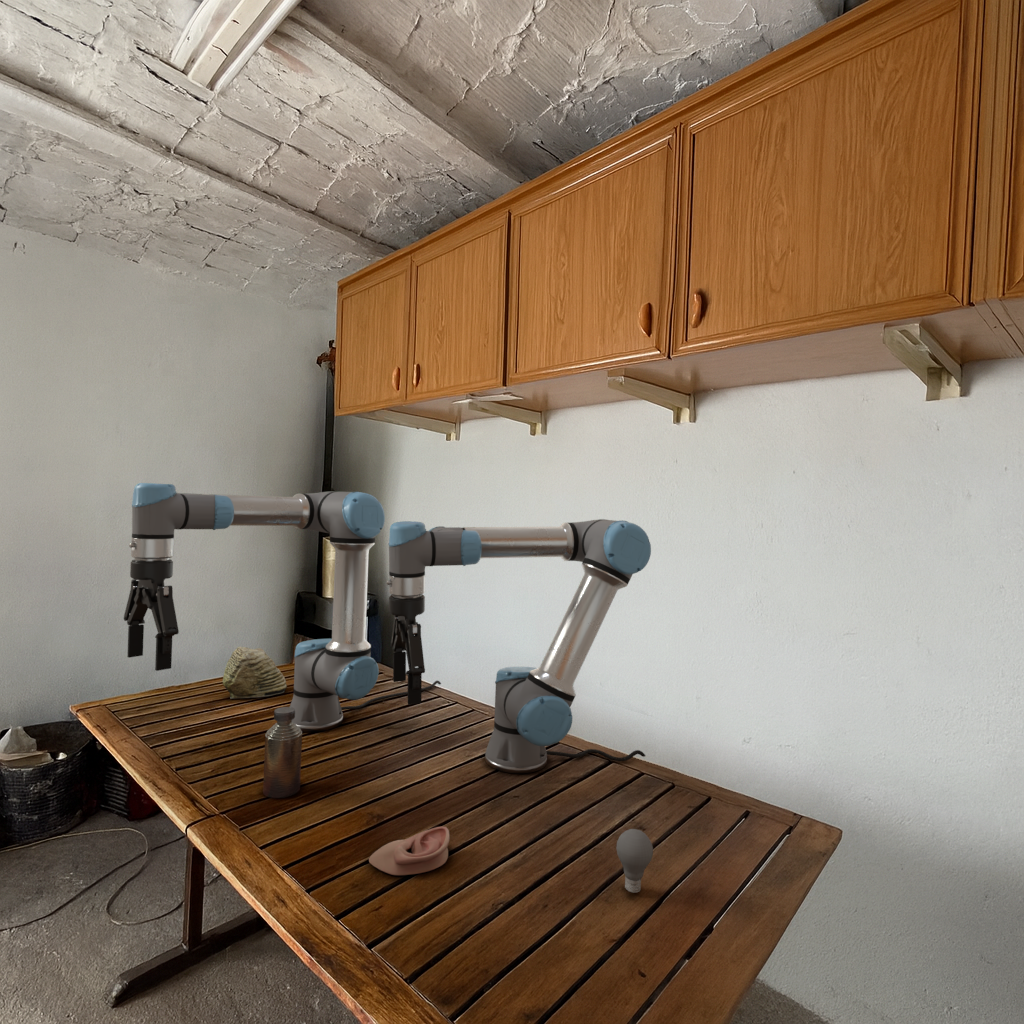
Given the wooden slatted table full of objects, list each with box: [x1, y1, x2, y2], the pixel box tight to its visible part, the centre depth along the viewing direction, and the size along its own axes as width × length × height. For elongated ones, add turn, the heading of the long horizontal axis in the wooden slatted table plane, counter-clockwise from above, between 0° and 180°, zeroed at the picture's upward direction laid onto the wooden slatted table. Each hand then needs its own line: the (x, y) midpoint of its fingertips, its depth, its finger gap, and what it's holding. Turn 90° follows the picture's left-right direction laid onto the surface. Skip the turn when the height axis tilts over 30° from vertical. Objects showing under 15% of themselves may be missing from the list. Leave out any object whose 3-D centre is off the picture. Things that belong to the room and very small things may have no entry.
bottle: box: [262, 720, 303, 799], centre depth 136 cm, size 7×7×17 cm
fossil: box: [222, 646, 288, 699], centre depth 198 cm, size 9×18×15 cm, turn 132°
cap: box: [273, 706, 295, 722], centre depth 136 cm, size 4×4×2 cm
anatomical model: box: [368, 826, 451, 876], centre depth 112 cm, size 13×4×12 cm
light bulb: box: [615, 828, 654, 894], centre depth 106 cm, size 6×6×10 cm
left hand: (148, 662), depth 129 cm, fingers open, 13 cm apart
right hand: (406, 691), depth 136 cm, fingers open, 13 cm apart
